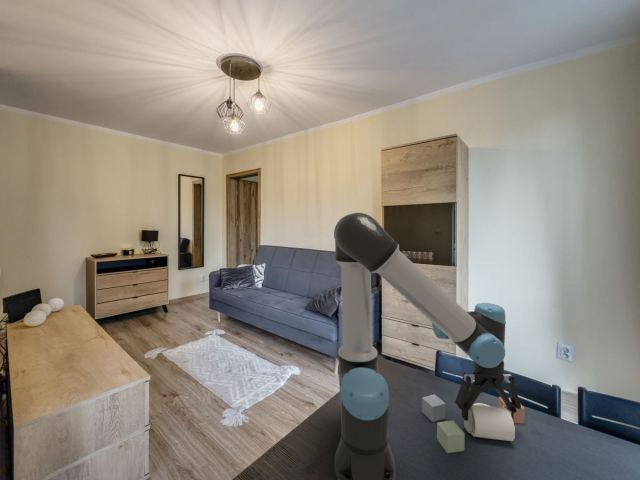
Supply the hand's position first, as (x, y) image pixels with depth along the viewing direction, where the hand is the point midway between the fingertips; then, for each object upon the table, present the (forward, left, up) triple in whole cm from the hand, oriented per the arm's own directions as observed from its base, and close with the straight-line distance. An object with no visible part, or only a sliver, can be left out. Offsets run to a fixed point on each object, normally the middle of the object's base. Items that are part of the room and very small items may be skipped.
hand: (486, 429), depth 82 cm
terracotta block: (+11, +6, -1) cm, 13 cm away
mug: (0, 0, -1) cm, 1 cm away
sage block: (-13, -5, -1) cm, 14 cm away
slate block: (-13, +7, -1) cm, 15 cm away
